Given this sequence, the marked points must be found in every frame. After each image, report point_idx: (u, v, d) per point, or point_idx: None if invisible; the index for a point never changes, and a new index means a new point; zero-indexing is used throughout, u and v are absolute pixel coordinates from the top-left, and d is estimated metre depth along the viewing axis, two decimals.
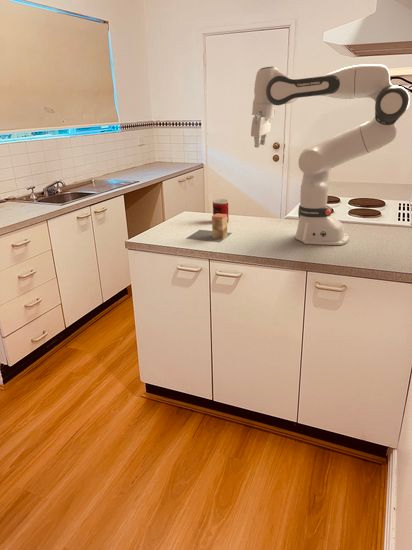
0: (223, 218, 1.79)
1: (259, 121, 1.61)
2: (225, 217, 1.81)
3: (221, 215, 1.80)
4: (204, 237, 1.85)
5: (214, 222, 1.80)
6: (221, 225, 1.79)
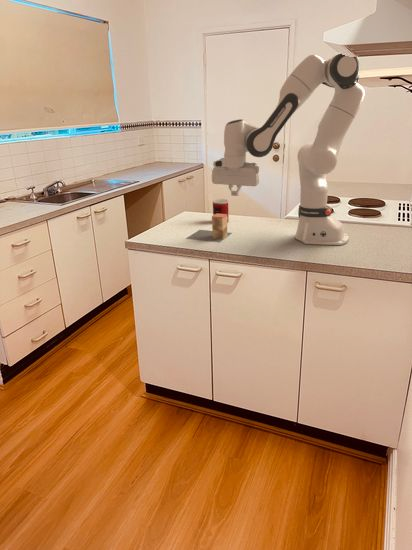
0: (223, 218, 1.79)
1: None
2: (225, 217, 1.81)
3: (221, 215, 1.80)
4: (204, 237, 1.85)
5: (214, 222, 1.80)
6: (221, 225, 1.79)
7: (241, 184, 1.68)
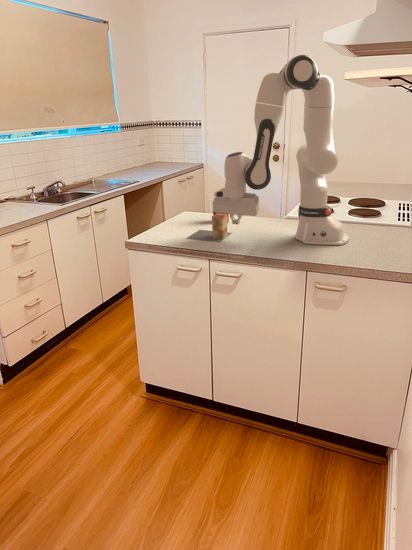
0: (223, 218, 1.79)
1: None
2: (225, 217, 1.81)
3: (221, 215, 1.80)
4: (204, 237, 1.85)
5: (214, 222, 1.80)
6: (221, 225, 1.79)
7: (242, 213, 1.73)
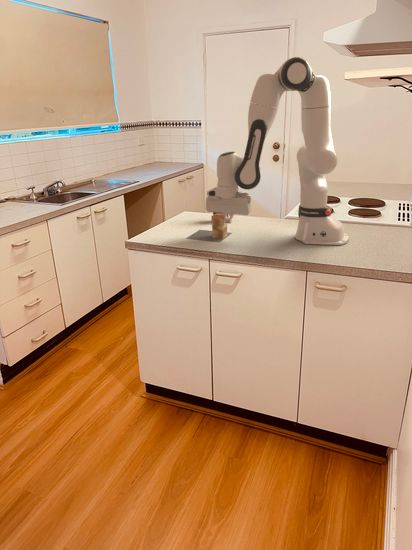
0: (223, 218, 1.79)
1: None
2: None
3: (220, 215, 1.80)
4: (204, 237, 1.85)
5: (213, 221, 1.80)
6: (221, 225, 1.79)
7: (234, 213, 1.75)
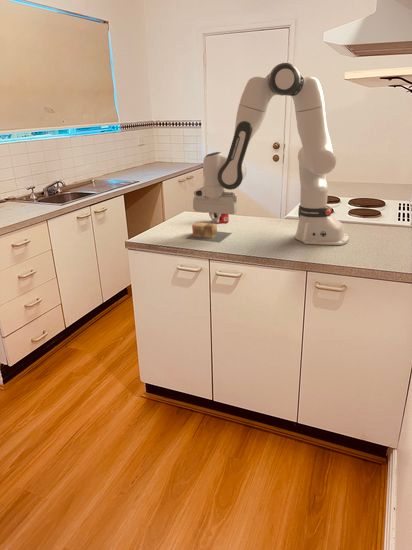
0: (195, 224, 1.86)
1: None
2: (197, 223, 1.88)
3: None
4: (204, 237, 1.85)
5: (197, 234, 1.86)
6: (199, 226, 1.84)
7: (220, 212, 1.78)
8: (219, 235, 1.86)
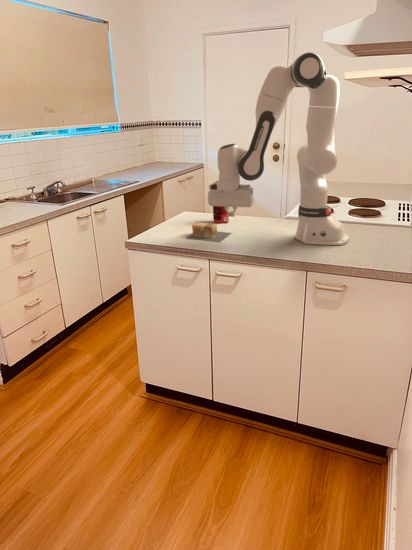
0: (195, 224, 1.86)
1: None
2: (197, 223, 1.88)
3: None
4: (204, 237, 1.85)
5: (197, 234, 1.86)
6: (199, 226, 1.84)
7: (237, 205, 1.73)
8: (219, 235, 1.86)
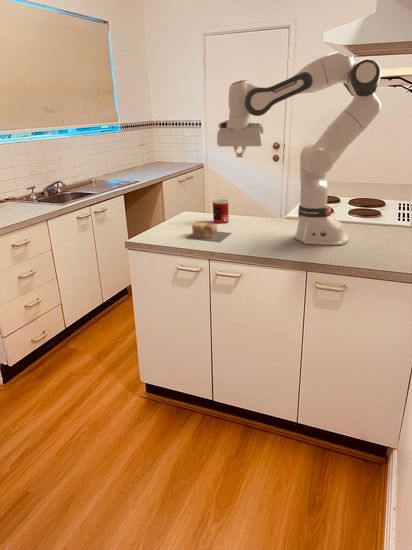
0: (195, 224, 1.86)
1: None
2: (197, 223, 1.88)
3: None
4: (204, 237, 1.85)
5: (197, 234, 1.86)
6: (199, 226, 1.84)
7: (246, 145, 1.72)
8: (219, 235, 1.86)
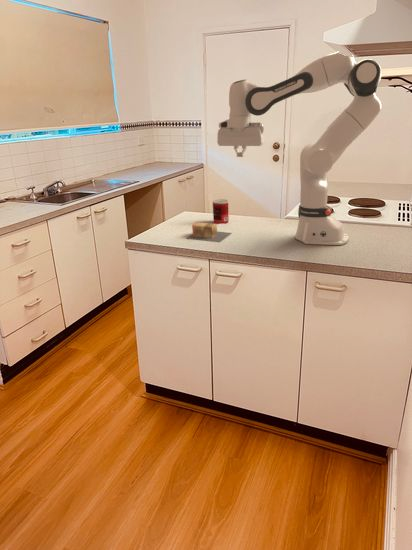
0: (195, 224, 1.86)
1: None
2: (197, 223, 1.88)
3: None
4: (204, 237, 1.85)
5: (197, 234, 1.86)
6: (199, 226, 1.84)
7: (246, 144, 1.73)
8: (219, 235, 1.86)
